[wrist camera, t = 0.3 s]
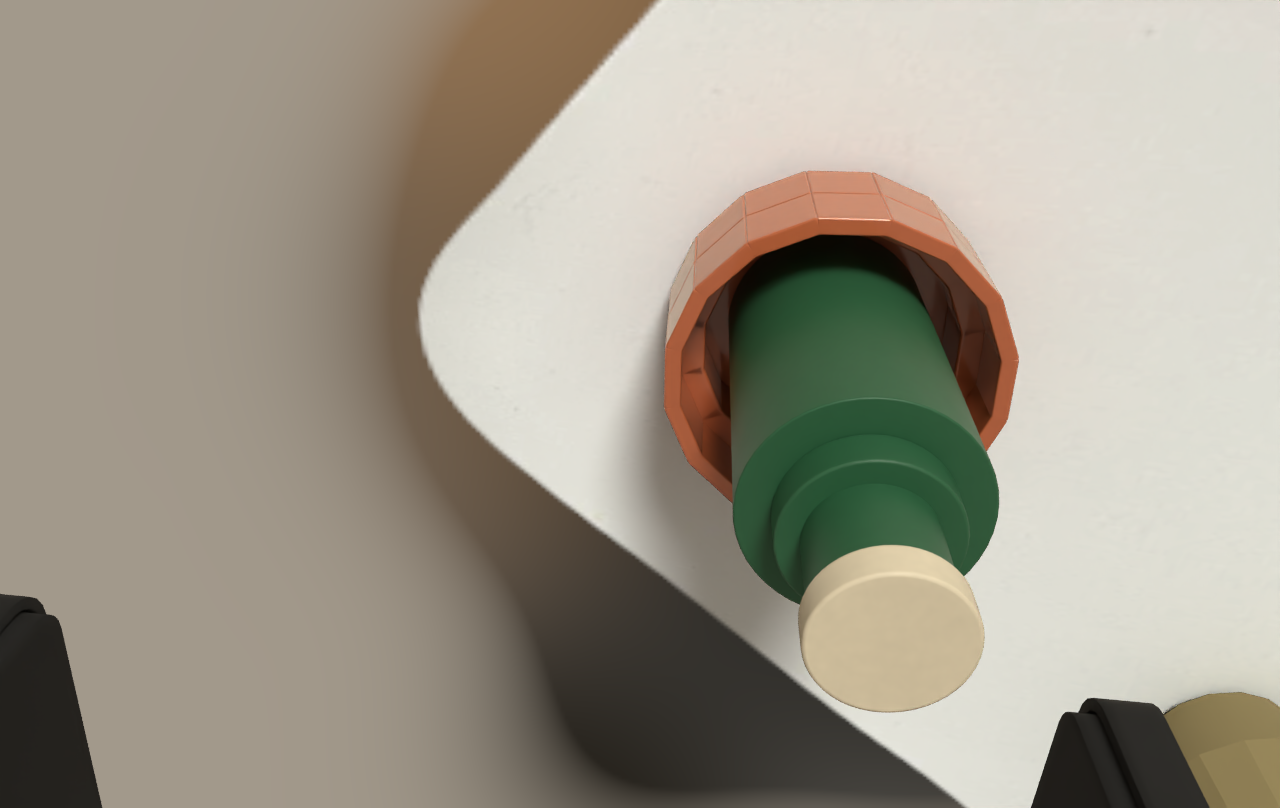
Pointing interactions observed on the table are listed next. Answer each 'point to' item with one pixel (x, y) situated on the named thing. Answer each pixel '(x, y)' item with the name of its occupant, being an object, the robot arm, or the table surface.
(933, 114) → the table surface
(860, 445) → the bottle
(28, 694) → the robot arm
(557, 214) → the table surface
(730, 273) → the bowl
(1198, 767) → the squeeze bottle
